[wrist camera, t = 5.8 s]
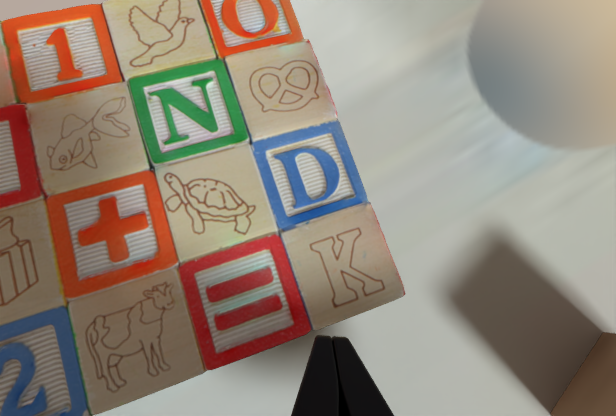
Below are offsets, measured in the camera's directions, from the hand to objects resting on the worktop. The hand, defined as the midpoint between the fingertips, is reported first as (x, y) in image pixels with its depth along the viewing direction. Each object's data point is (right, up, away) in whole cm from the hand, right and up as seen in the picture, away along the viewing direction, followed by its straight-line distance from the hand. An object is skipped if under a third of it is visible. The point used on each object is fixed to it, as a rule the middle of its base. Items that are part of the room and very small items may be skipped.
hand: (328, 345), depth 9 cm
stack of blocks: (-8, -3, +2) cm, 9 cm away
